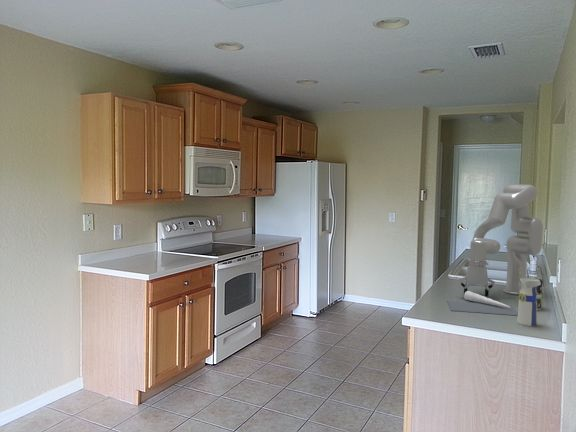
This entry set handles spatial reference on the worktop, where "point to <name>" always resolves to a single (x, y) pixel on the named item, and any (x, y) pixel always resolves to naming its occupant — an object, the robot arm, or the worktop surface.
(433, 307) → the worktop surface
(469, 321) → the worktop surface
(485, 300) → the unicorn horn
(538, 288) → the coffee can
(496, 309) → the mat
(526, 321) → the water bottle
